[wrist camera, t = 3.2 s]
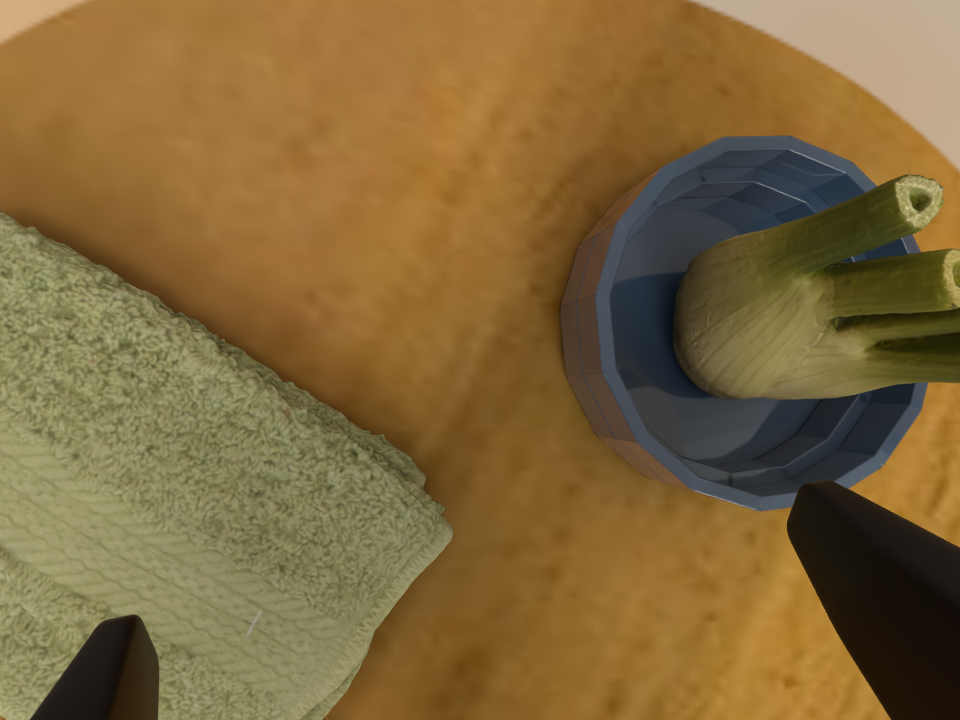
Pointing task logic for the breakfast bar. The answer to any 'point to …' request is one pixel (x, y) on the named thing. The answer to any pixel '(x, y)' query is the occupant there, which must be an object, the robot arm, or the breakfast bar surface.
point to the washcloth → (184, 502)
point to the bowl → (649, 331)
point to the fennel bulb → (823, 304)
